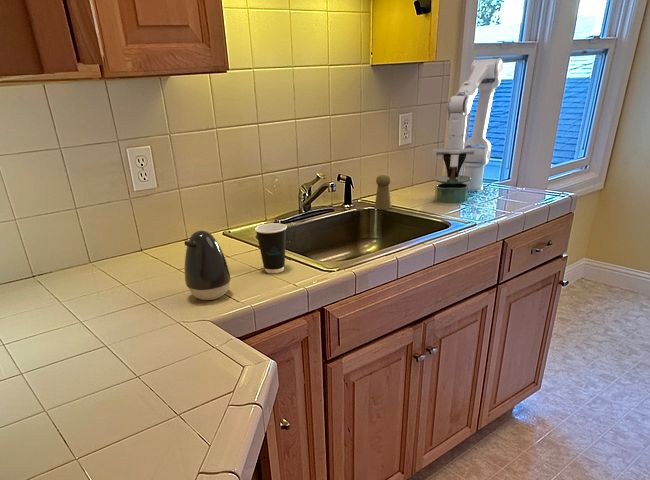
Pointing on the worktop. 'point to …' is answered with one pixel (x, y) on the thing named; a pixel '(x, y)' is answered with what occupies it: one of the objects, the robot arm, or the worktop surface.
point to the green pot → (451, 193)
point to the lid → (452, 177)
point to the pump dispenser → (205, 267)
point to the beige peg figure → (383, 192)
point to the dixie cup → (272, 246)
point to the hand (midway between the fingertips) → (452, 176)
